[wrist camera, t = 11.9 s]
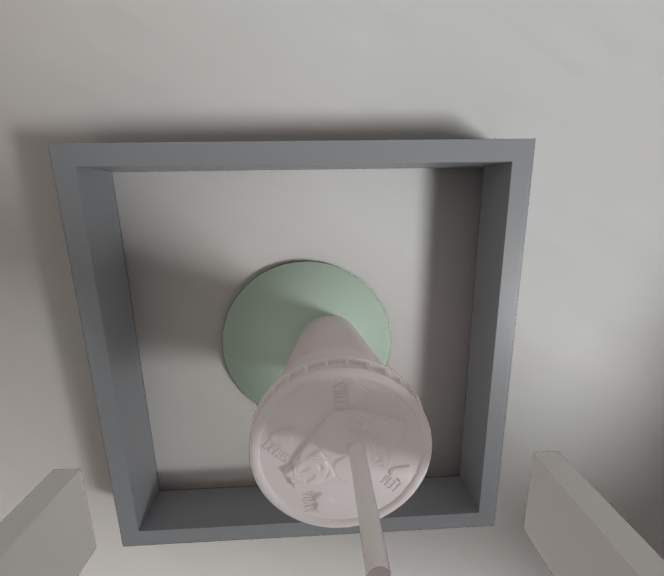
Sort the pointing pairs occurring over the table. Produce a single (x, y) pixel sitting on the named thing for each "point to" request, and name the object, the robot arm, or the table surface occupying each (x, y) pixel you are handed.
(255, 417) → the smoothie
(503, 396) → the grey square frame
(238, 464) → the table surface
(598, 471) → the table surface
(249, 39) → the table surface
